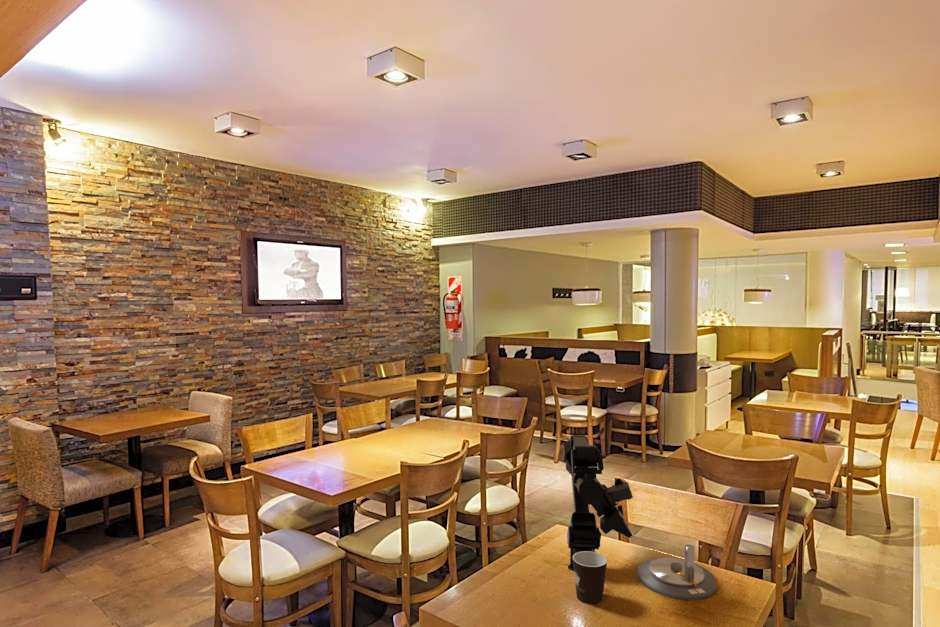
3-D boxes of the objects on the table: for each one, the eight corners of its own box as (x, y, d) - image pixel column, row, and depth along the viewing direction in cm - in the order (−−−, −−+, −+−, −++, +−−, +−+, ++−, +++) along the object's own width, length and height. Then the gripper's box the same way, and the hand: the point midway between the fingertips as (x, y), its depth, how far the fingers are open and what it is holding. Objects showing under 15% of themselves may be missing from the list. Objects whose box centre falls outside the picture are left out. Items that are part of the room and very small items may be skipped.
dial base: (628, 585, 149) (628, 579, 149) (649, 556, 165) (649, 551, 165) (708, 608, 138) (708, 601, 138) (722, 575, 154) (722, 568, 154)
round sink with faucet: (639, 564, 157) (640, 528, 157) (684, 560, 160) (685, 524, 159) (670, 593, 141) (671, 553, 141) (720, 588, 144) (720, 549, 144)
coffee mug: (607, 608, 137) (607, 568, 137) (571, 604, 139) (572, 564, 139) (605, 585, 149) (606, 547, 149) (572, 581, 151) (573, 544, 150)
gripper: (618, 483, 142) (659, 532, 140) (614, 462, 160) (650, 506, 158) (583, 509, 144) (624, 558, 142) (583, 485, 162) (619, 529, 160)
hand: (630, 536), depth 150 cm, fingers closed
